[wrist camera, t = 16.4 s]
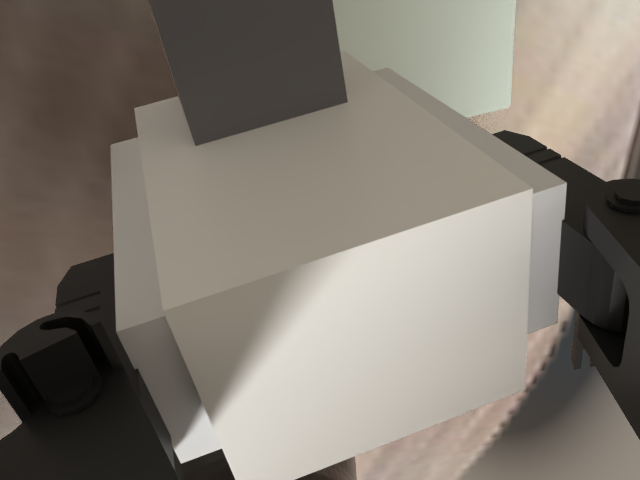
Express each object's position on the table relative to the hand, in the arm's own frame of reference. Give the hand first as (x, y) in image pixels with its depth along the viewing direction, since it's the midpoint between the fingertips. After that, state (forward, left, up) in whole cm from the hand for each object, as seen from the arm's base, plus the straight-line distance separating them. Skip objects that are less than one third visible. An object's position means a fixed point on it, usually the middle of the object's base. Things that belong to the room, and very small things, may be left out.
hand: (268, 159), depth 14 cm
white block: (+5, 0, -1) cm, 5 cm away
